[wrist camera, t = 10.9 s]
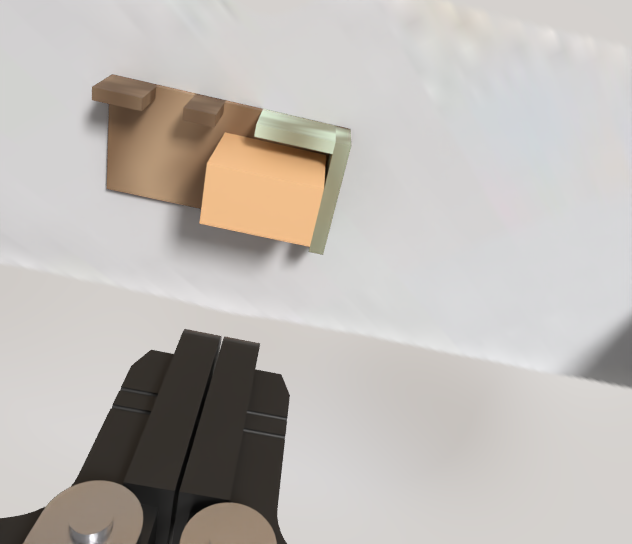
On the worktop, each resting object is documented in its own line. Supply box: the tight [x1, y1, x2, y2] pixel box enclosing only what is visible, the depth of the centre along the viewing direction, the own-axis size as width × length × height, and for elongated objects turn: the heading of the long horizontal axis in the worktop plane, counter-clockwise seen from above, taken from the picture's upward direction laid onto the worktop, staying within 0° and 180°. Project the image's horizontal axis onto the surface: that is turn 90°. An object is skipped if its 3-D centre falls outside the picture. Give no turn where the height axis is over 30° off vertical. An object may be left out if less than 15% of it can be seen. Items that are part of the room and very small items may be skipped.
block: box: [199, 132, 326, 247], centre depth 37 cm, size 7×4×6 cm, turn 78°
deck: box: [92, 74, 351, 255], centre depth 38 cm, size 16×8×4 cm, turn 78°
